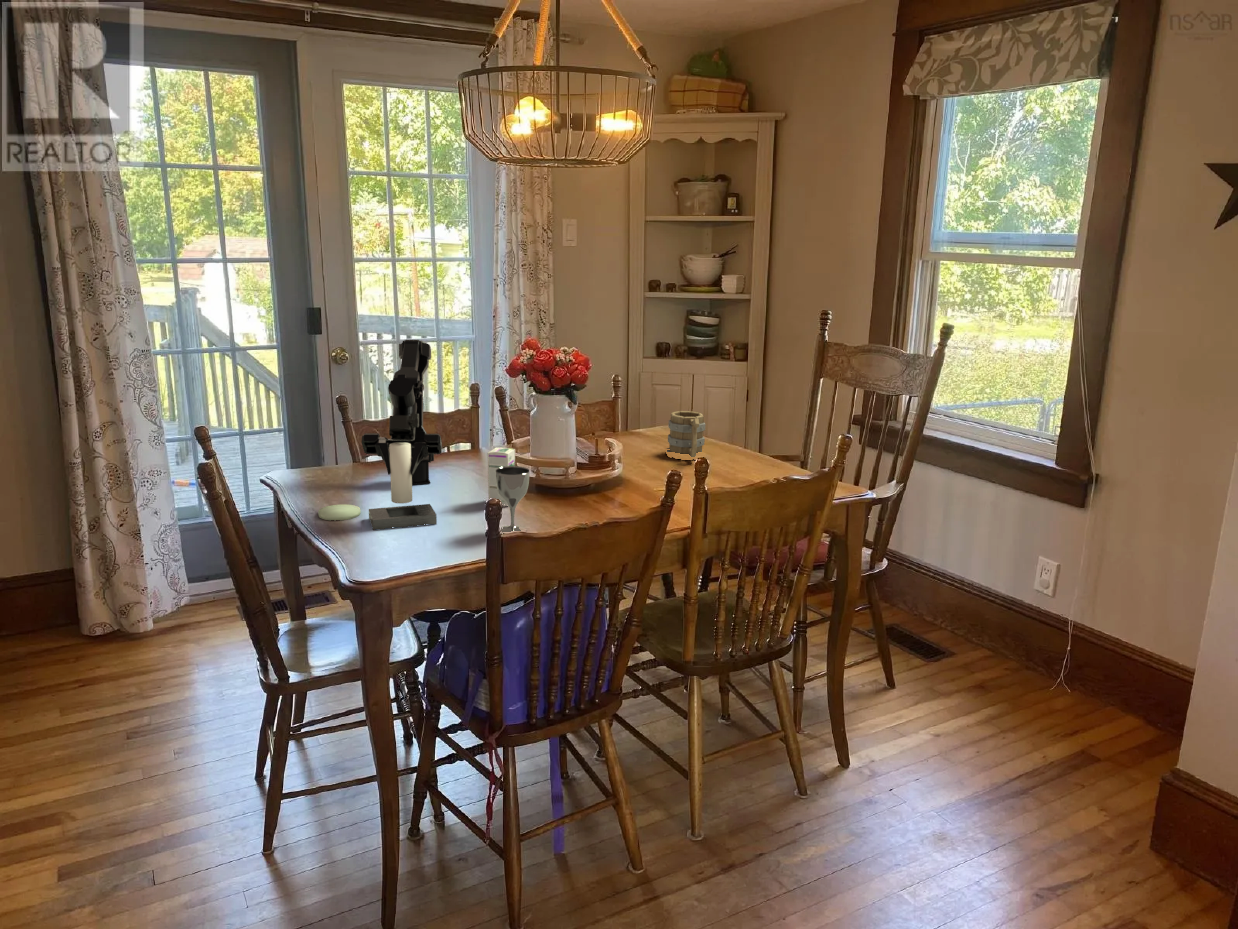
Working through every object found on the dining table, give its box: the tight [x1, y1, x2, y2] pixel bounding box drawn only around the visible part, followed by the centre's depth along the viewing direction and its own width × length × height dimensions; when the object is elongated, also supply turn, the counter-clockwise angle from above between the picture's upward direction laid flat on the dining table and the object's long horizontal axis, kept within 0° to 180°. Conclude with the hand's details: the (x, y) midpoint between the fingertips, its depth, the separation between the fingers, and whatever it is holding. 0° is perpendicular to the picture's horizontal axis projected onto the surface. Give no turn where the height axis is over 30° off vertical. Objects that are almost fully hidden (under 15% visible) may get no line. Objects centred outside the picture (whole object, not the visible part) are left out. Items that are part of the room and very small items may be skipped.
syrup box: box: [486, 447, 516, 507], centre depth 233 cm, size 6×6×14 cm
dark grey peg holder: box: [368, 503, 438, 531], centre depth 217 cm, size 15×9×2 cm, turn 112°
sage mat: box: [318, 504, 361, 522], centre depth 221 cm, size 10×10×1 cm
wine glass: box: [496, 465, 530, 532], centre depth 212 cm, size 8×8×15 cm
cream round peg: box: [389, 442, 413, 504], centre depth 214 cm, size 5×5×14 cm
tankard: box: [666, 410, 706, 457], centre depth 284 cm, size 20×13×15 cm, turn 6°
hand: (400, 473), depth 213 cm, fingers closed on cream round peg, 5 cm apart
